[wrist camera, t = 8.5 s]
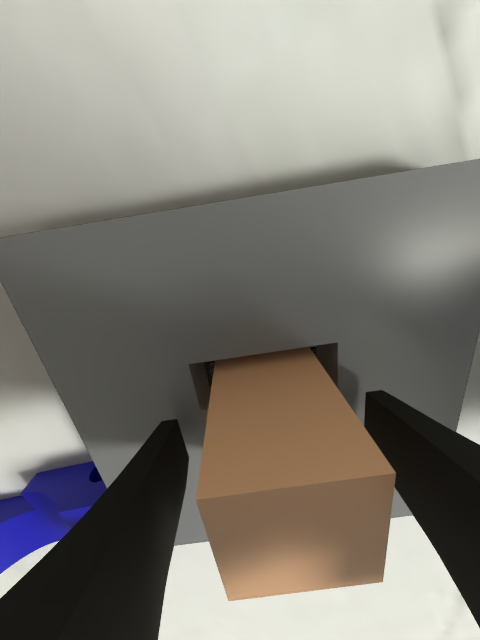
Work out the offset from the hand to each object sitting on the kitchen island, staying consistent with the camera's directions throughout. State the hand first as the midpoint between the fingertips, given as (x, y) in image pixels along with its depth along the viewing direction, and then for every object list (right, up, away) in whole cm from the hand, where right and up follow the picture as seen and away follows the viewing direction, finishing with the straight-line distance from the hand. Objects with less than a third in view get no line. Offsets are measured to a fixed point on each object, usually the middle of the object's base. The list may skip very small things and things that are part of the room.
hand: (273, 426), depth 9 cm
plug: (0, +1, +3) cm, 3 cm away
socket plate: (0, +1, +3) cm, 3 cm away
